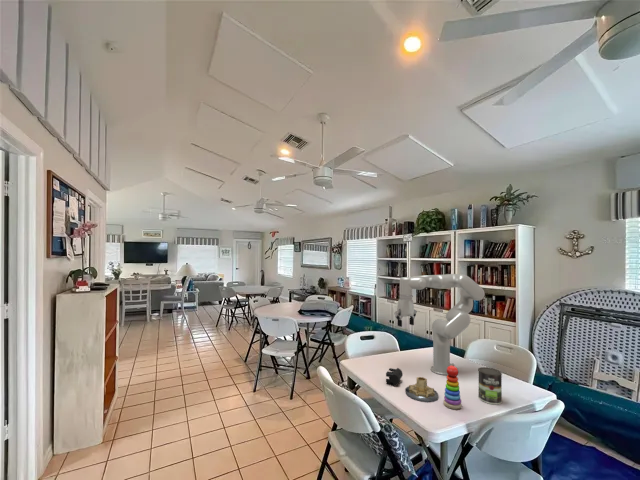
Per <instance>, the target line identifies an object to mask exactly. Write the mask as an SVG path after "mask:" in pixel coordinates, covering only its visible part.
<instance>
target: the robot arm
mask: <svg viewBox="0 0 640 480" xmlns="http://www.w3.org/2000/svg"><path fill="white" fill-rule="evenodd" d="M426 288H431V289H451V288H452V289H454V288H458V289H460V290H459V291H460V292H459V293H460V295H459V297H460V299H459V301H458V302H457V303H456V304H455V305H454V306H453V307H451V308H450V309H449V310H448V311H447V312H446V314H445V319H442V318H436V319H434V320H433V322H432V324H431V330H432V331H431V332H432V341H433V343H432V345H433V346H432V347H433V348H432V349H433V350H432V352H433V355H432V356H433V357H432V358H433V360H432V361H433V363H432V365H433V366H430V370H431V372H432V373H435V374H436V375H441V376H447V375H448V374H447V367H448V366H455V367H456V365H455V363H452V362H451V359H450V358H451V356H450V355H451V350H450V349H451V341H450V340H453V339H455V338H457V337H458V336H459V335H460V334H462V332H463V331H465V329H467V328H468V327H469V325H470V324H471V316H470V314H469V313H470V312H471V311H472V310H473V309H474V307H473V306H474V301H482V300H483V299H484V298H485V291H484V289H483V287H481V286H480V285H479V284H478V283H477V282H475V281H474V279H473V278H471V277H469V276H468V275H466V274H463V273H461V274H460V273H447V274H431V275H413V276H410V277H409V276H404V277H402V276H401V277H400V278H399V299H398V300H397V304H396V305H397V307H396V311H395V312H394V315H395V318H396V320H397V327H400V328H402V327H403V320H402V319H403V317H404V318H406V317H409V318H408V319H409V321H408V323H409V325H411V326H414V325H415V317H416V316H417V312H418V311H417V310H416V309H415V305H414V301H413V297H414V296H413V290H418V291H420V290H424V289H426Z"/></svg>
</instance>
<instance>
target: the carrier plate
mask: <svg viewBox="0 0 640 480" xmlns="http://www.w3.org/2000/svg"><path fill="white" fill-rule="evenodd" d="M404 390H405V392H404V393H405V395H406V397H408V398H410V399H412V400H414V401H418V402H421V403H433V402H436V401H438V399H439V393H438V392H437V391H436V390H435V389H434V392H435V396H430V397H428V398H426V397H420V396H418V397H417V396H416V395H414V394H413V393H410V392H409V385H408V386H407V387H405V389H404Z"/></svg>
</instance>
